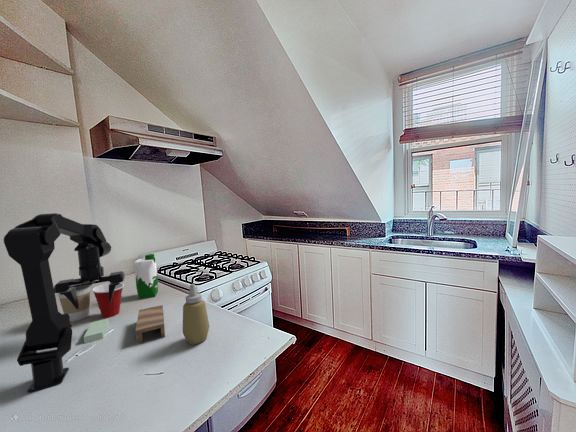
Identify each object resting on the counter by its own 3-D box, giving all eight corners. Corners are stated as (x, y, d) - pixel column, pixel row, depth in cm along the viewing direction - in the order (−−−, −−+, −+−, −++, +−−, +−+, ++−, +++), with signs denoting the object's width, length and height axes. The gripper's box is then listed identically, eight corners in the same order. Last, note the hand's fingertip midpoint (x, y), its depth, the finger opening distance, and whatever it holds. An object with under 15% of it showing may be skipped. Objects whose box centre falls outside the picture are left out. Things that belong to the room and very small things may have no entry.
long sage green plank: (103, 339, 85) (102, 332, 85) (84, 344, 83) (83, 336, 83) (108, 325, 96) (108, 318, 96) (92, 329, 94) (91, 322, 93)
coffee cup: (100, 314, 105) (96, 279, 104) (64, 327, 96) (60, 288, 95) (89, 309, 111) (85, 276, 110) (55, 320, 102) (50, 284, 101)
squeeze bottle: (181, 349, 76) (176, 290, 75) (185, 336, 84) (180, 282, 83) (210, 344, 78) (205, 286, 77) (210, 331, 86) (206, 278, 85)
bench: (165, 336, 84) (163, 323, 84) (137, 344, 80) (135, 330, 80) (163, 316, 100) (162, 304, 100) (140, 321, 96) (139, 310, 96)
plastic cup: (110, 321, 98) (107, 291, 97) (87, 320, 100) (84, 290, 100) (133, 309, 109) (130, 281, 108) (112, 308, 111) (109, 281, 110)
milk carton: (156, 297, 122) (153, 255, 121) (135, 300, 119) (131, 258, 118) (160, 291, 130) (156, 252, 129) (140, 294, 127) (136, 254, 126)
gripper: (124, 253, 99) (128, 292, 100) (62, 261, 91) (67, 304, 92) (120, 258, 89) (124, 302, 90) (50, 268, 81) (56, 315, 82)
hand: (94, 305), depth 89 cm, fingers open, 9 cm apart
